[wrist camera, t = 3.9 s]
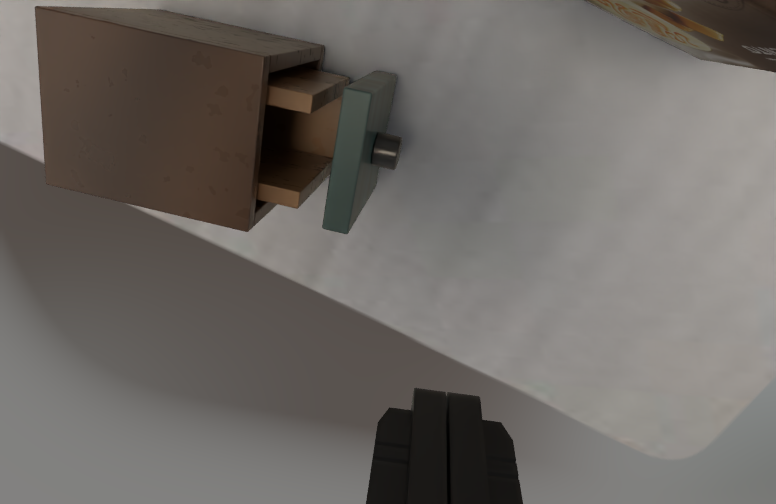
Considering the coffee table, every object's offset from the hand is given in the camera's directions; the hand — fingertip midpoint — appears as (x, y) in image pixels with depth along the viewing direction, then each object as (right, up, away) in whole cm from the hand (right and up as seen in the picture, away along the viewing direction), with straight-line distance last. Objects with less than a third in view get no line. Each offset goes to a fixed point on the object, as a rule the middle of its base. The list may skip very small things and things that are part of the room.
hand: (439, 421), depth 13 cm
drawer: (-5, +11, +18) cm, 21 cm away
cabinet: (-10, +13, +19) cm, 25 cm away
